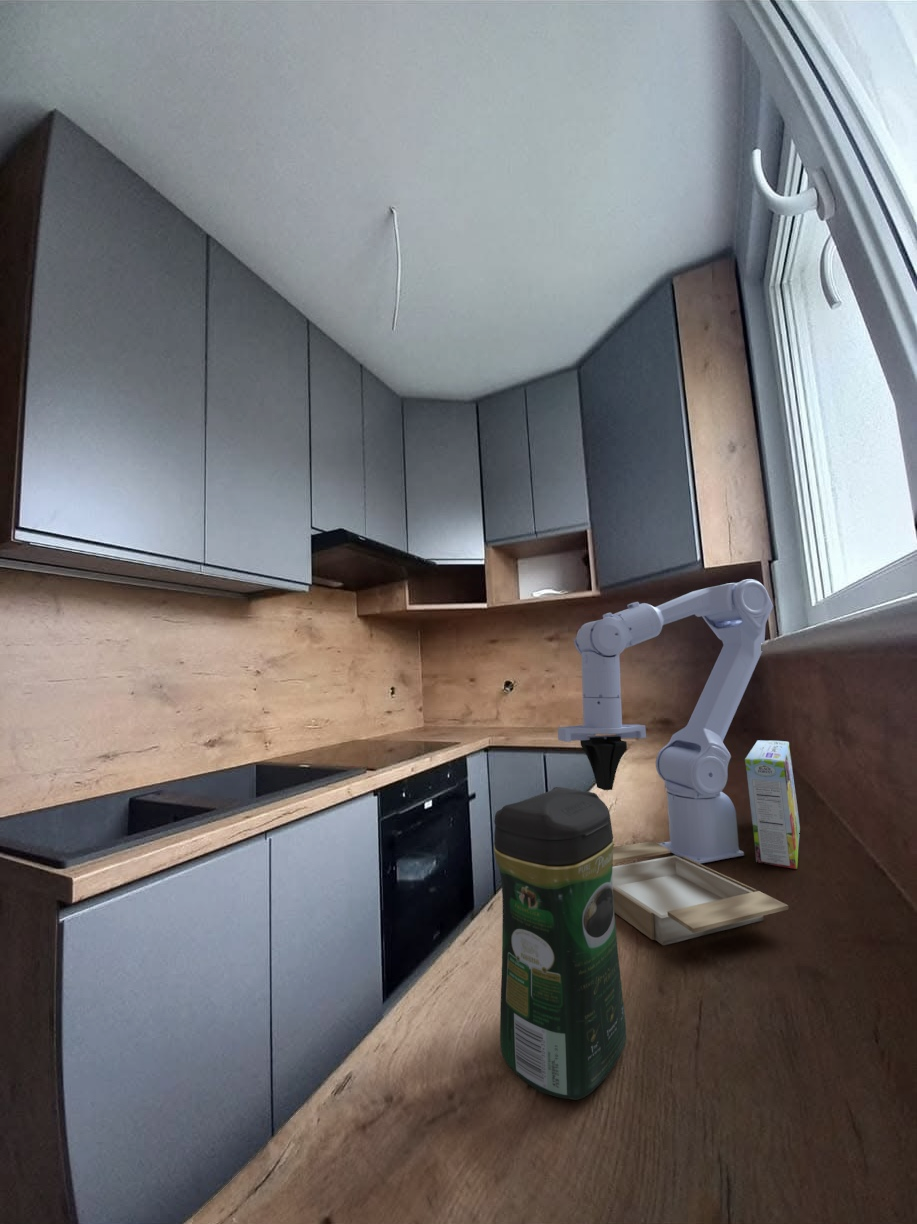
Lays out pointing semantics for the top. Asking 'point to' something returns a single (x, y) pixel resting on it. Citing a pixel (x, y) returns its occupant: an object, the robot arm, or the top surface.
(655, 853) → the flap
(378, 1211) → the top surface
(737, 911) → the flap
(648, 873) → the carton
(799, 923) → the top surface
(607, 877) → the coffee jar
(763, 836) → the snack box
